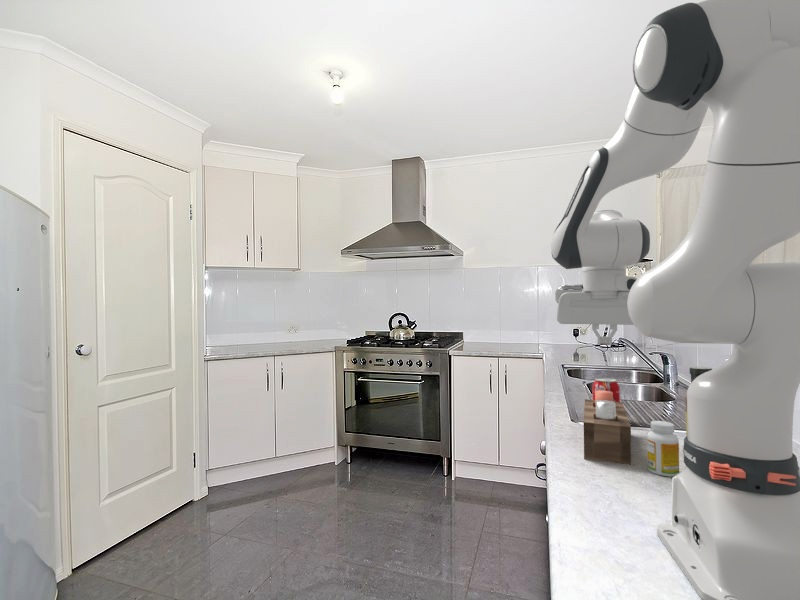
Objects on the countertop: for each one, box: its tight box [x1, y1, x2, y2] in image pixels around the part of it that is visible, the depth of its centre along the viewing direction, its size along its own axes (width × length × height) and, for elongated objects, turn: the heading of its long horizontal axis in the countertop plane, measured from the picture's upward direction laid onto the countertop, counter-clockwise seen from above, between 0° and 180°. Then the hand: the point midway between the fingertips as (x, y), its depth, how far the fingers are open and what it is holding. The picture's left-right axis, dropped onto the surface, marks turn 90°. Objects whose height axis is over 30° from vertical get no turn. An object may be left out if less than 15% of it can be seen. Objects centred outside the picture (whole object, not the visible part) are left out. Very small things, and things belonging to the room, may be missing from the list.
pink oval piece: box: [595, 390, 613, 407], centre depth 104 cm, size 4×4×7 cm
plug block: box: [583, 398, 632, 466], centre depth 98 cm, size 24×9×8 cm, turn 155°
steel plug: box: [596, 400, 616, 421], centre depth 93 cm, size 4×4×7 cm
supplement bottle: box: [646, 420, 680, 478], centre depth 82 cm, size 5×5×10 cm
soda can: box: [592, 377, 621, 402], centre depth 119 cm, size 7×7×12 cm
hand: (604, 344), depth 93 cm, fingers closed
